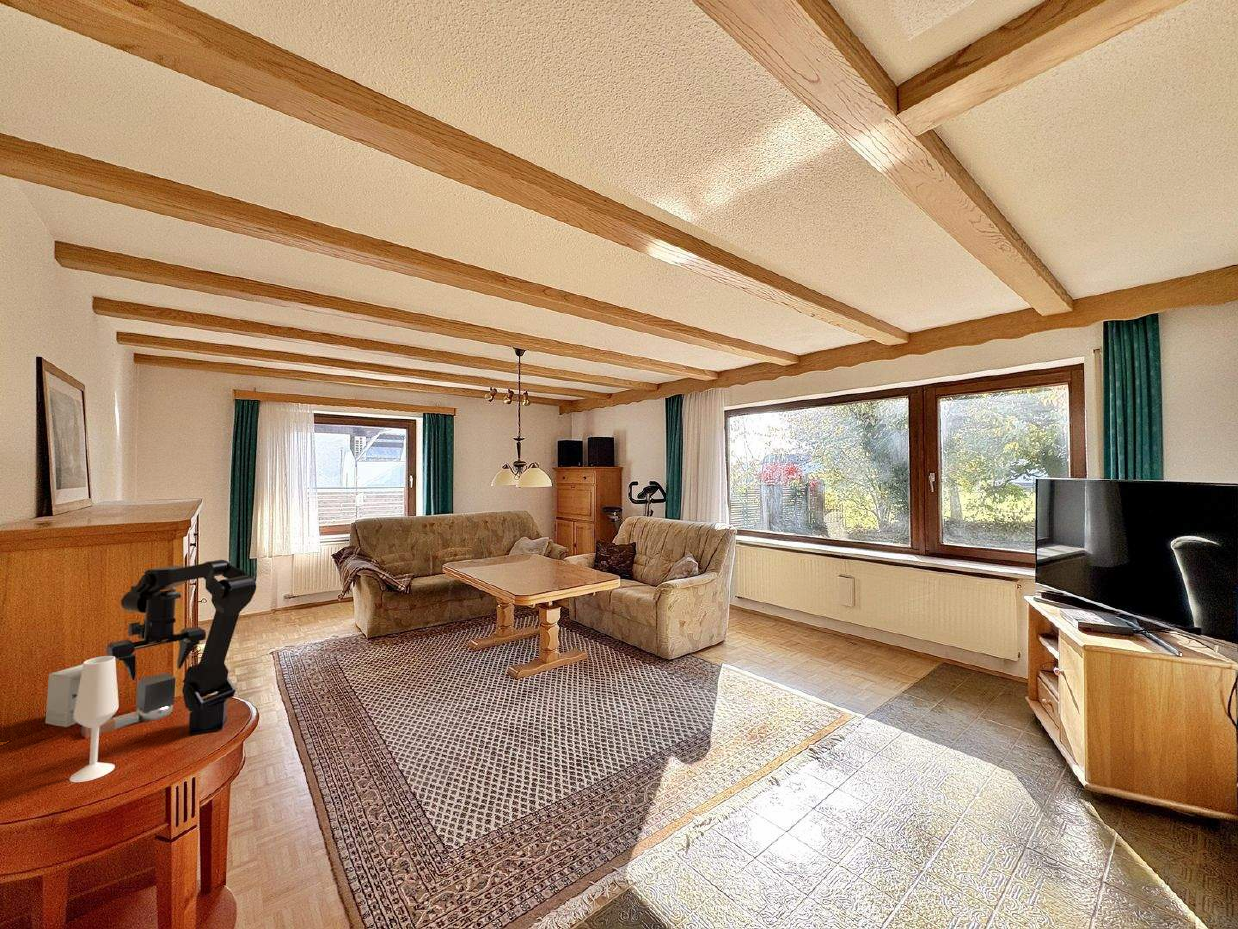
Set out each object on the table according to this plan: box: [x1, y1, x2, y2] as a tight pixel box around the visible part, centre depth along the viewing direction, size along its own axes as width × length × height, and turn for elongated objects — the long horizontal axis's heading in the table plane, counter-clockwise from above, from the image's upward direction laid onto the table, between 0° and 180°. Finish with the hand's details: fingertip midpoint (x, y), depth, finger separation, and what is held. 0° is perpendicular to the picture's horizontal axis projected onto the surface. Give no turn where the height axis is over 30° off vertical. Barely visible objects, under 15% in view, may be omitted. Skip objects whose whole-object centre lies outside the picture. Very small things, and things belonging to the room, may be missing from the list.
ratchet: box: [80, 705, 174, 739], centre depth 127 cm, size 7×16×6 cm, turn 148°
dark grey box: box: [135, 672, 176, 713], centre depth 131 cm, size 6×6×7 cm
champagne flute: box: [69, 655, 119, 783], centre depth 106 cm, size 7×7×24 cm
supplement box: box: [45, 663, 83, 728], centre depth 127 cm, size 7×7×13 cm
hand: (156, 673), depth 131 cm, fingers open, 9 cm apart
